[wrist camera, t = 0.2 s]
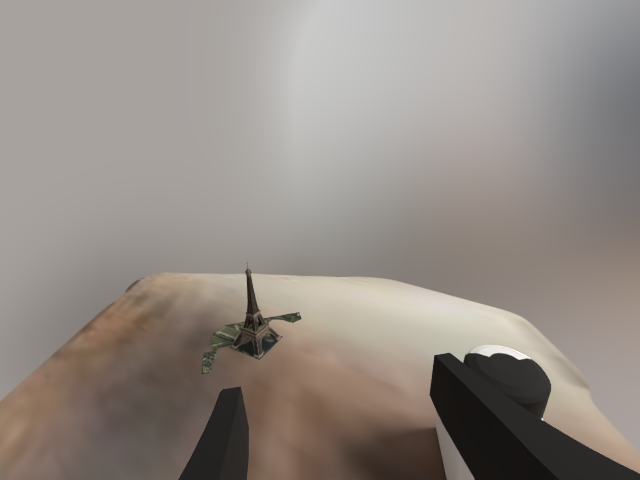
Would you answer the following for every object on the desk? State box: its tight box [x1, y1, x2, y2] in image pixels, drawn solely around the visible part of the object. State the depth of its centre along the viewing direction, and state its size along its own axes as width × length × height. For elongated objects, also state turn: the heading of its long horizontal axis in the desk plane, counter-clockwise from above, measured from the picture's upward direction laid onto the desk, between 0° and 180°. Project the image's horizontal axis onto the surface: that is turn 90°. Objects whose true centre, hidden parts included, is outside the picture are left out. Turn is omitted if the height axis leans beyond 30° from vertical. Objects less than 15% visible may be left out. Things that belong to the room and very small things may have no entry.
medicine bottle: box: [436, 345, 551, 480], centre depth 27 cm, size 7×7×12 cm
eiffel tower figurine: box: [202, 264, 301, 373], centre depth 45 cm, size 15×10×13 cm
